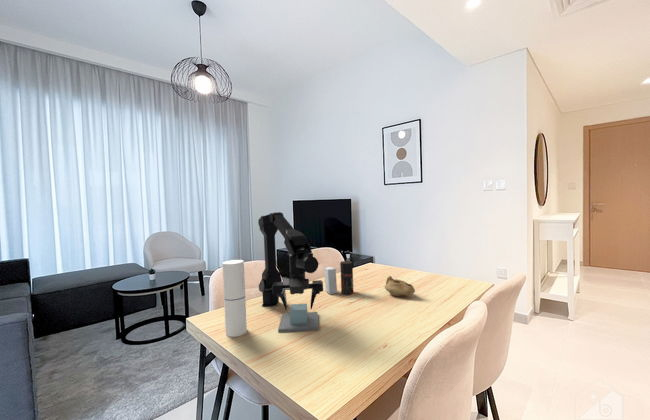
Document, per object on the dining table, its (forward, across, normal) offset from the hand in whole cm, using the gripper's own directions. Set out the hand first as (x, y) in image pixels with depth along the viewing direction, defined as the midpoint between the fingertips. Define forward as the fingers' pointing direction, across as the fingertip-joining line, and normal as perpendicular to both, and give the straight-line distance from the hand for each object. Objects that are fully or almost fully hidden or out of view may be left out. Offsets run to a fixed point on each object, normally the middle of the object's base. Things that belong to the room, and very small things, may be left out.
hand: (298, 309), depth 107 cm
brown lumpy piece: (+5, +46, +25) cm, 53 cm away
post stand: (+5, 0, 0) cm, 5 cm away
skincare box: (+5, +14, +34) cm, 37 cm away
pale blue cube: (+4, 0, 0) cm, 4 cm away
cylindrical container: (+5, -22, -5) cm, 23 cm away
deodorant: (+5, +22, +32) cm, 39 cm away
